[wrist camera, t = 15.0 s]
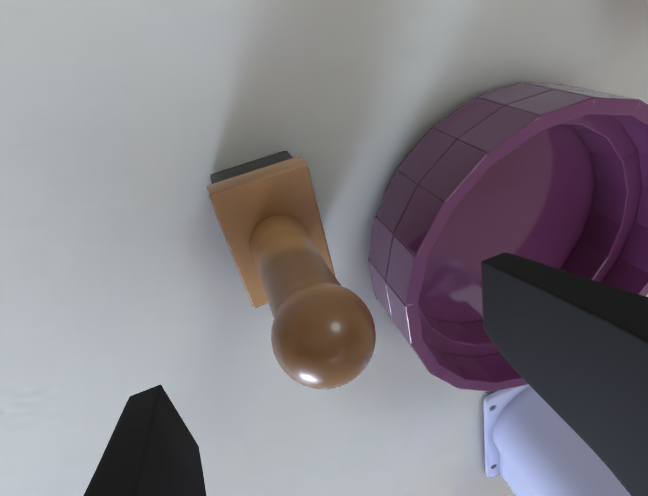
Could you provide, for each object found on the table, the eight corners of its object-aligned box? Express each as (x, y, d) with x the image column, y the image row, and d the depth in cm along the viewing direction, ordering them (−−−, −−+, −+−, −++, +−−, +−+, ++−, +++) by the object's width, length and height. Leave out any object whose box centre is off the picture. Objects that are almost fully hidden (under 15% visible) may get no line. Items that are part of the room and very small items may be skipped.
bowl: (591, 284, 28) (657, 328, 24) (386, 368, 26) (424, 431, 22) (624, 44, 20) (728, 52, 17) (339, 134, 18) (384, 167, 14)
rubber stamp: (318, 249, 20) (417, 409, 12) (243, 276, 20) (297, 461, 12) (289, 143, 18) (394, 258, 10) (203, 171, 17) (235, 318, 9)
